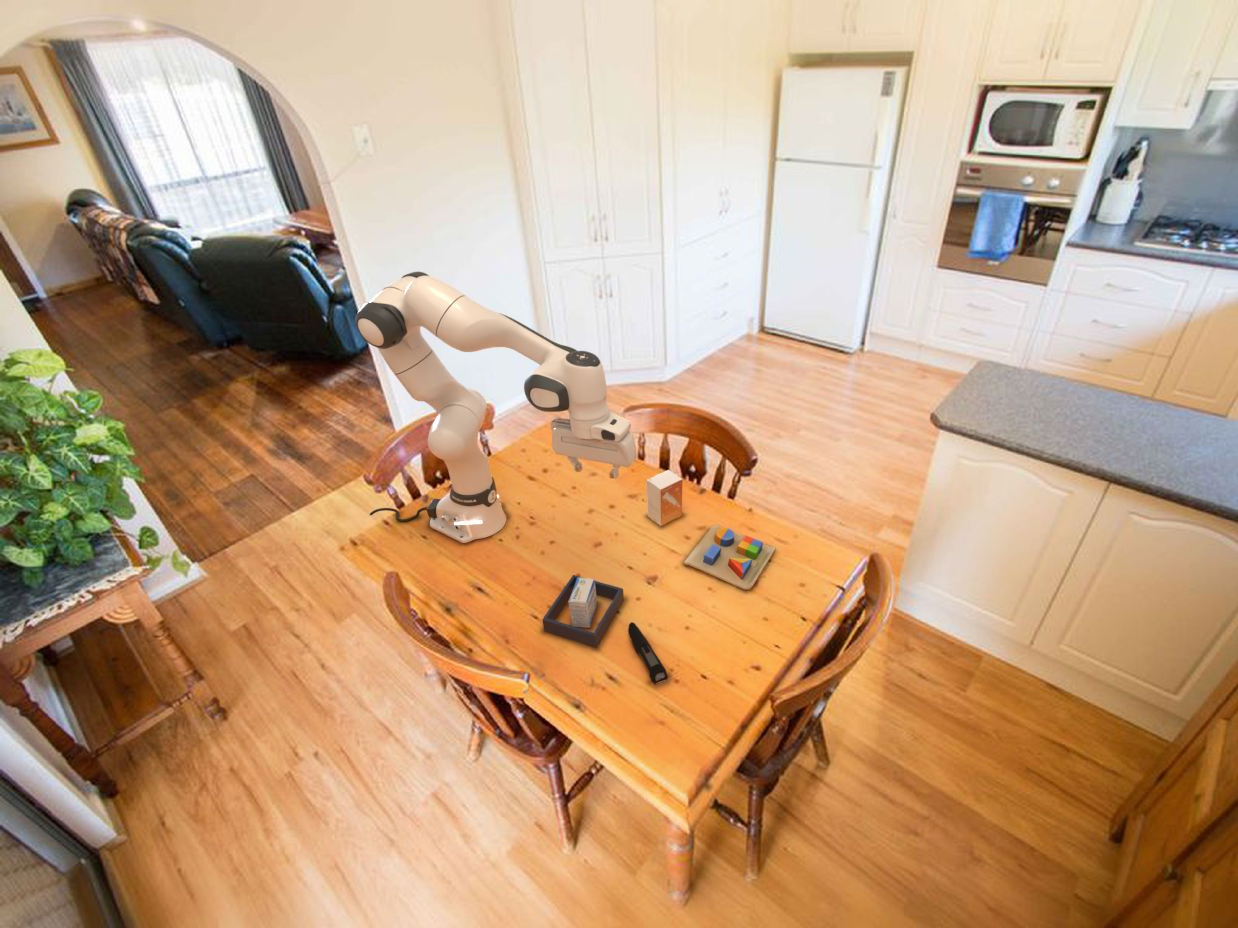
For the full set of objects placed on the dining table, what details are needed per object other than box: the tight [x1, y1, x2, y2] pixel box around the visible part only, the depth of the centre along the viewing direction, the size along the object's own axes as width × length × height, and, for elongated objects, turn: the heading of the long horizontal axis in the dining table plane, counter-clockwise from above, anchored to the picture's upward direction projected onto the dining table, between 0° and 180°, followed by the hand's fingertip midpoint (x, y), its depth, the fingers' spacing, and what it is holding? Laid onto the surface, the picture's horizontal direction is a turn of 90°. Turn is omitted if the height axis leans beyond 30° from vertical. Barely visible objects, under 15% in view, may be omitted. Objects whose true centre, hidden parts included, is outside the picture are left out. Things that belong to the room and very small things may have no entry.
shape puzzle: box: [683, 524, 776, 591], centre depth 158 cm, size 18×19×4 cm
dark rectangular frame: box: [541, 574, 625, 648], centre depth 145 cm, size 14×16×4 cm
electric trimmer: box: [627, 621, 668, 685], centre depth 134 cm, size 4×16×3 cm, turn 22°
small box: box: [646, 469, 683, 527], centre depth 172 cm, size 8×6×13 cm
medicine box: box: [568, 577, 598, 629], centre depth 143 cm, size 8×4×9 cm, turn 168°
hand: (596, 473), depth 143 cm, fingers open, 8 cm apart
